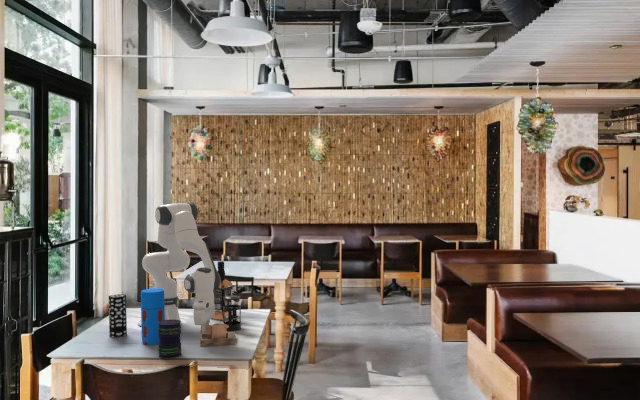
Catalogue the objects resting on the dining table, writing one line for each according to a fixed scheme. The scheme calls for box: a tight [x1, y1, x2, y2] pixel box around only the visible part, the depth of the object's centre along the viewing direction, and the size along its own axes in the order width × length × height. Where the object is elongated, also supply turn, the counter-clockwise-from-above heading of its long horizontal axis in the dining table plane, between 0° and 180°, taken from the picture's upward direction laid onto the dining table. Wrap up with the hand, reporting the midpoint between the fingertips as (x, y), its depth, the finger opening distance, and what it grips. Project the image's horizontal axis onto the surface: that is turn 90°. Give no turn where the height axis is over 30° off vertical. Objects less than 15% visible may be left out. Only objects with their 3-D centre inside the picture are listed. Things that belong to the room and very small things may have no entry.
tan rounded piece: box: [200, 322, 229, 339], centre depth 285 cm, size 13×7×8 cm, turn 78°
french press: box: [222, 284, 242, 332], centre depth 309 cm, size 12×9×23 cm
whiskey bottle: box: [210, 260, 233, 321], centre depth 335 cm, size 10×10×32 cm
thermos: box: [140, 288, 165, 346], centre depth 285 cm, size 11×11×25 cm
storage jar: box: [157, 319, 182, 360], centre depth 263 cm, size 10×10×15 cm
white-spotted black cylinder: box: [108, 293, 128, 338], centre depth 299 cm, size 8×8×20 cm
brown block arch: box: [199, 331, 236, 347], centre depth 285 cm, size 16×14×3 cm
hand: (205, 330), depth 286 cm, fingers closed on tan rounded piece
